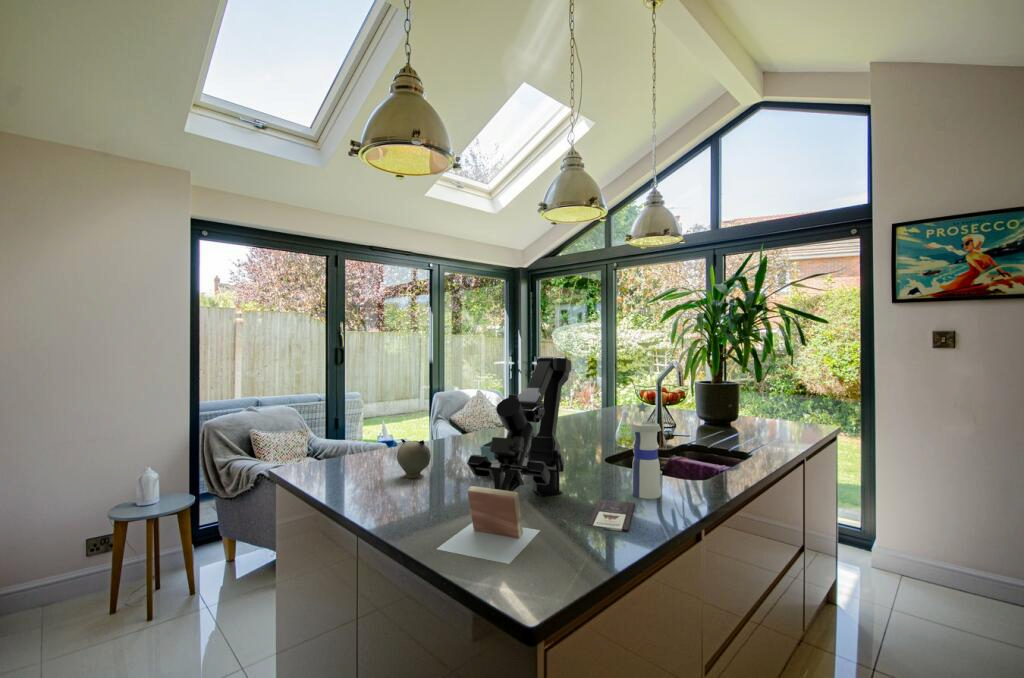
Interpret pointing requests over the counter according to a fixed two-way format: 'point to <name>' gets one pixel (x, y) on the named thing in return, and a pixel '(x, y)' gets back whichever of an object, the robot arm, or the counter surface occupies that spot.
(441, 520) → the counter surface
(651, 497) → the water bottle
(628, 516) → the chocolate bar
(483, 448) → the flower pot
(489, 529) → the birch tile
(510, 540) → the light gray mat
